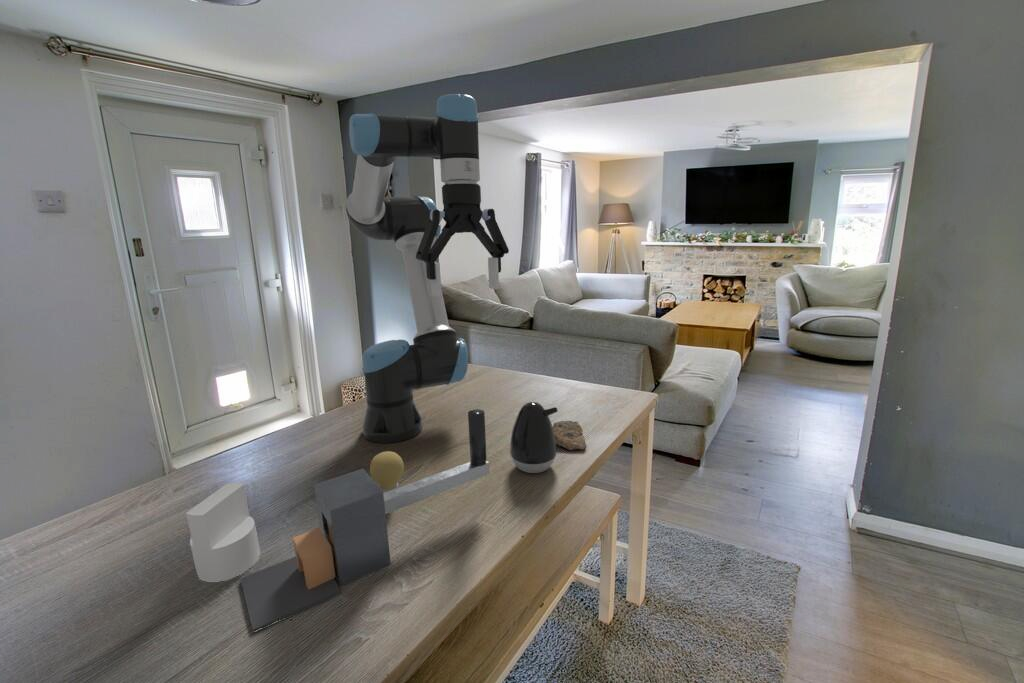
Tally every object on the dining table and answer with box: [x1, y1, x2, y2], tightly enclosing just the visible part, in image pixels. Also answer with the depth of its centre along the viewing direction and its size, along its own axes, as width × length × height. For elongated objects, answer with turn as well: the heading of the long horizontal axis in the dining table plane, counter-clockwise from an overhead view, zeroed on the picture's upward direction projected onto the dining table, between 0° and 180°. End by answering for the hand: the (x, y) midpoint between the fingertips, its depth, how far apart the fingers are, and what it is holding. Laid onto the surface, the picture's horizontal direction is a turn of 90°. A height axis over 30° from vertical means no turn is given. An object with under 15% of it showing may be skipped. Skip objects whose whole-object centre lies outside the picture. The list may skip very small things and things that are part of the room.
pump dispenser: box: [509, 401, 558, 474], centre depth 103 cm, size 10×10×15 cm
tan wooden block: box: [292, 527, 336, 590], centre depth 74 cm, size 6×4×6 cm, turn 38°
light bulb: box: [369, 450, 405, 493], centre depth 94 cm, size 6×6×10 cm
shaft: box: [327, 408, 490, 526], centre depth 81 cm, size 3×29×12 cm, turn 126°
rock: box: [552, 420, 587, 451], centre depth 116 cm, size 9×6×10 cm
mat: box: [240, 555, 341, 633], centre depth 73 cm, size 12×12×1 cm
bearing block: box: [313, 468, 392, 587], centre depth 77 cm, size 9×8×13 cm
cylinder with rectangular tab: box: [185, 482, 261, 581], centre depth 77 cm, size 9×9×12 cm
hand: (466, 292), depth 98 cm, fingers open, 13 cm apart
